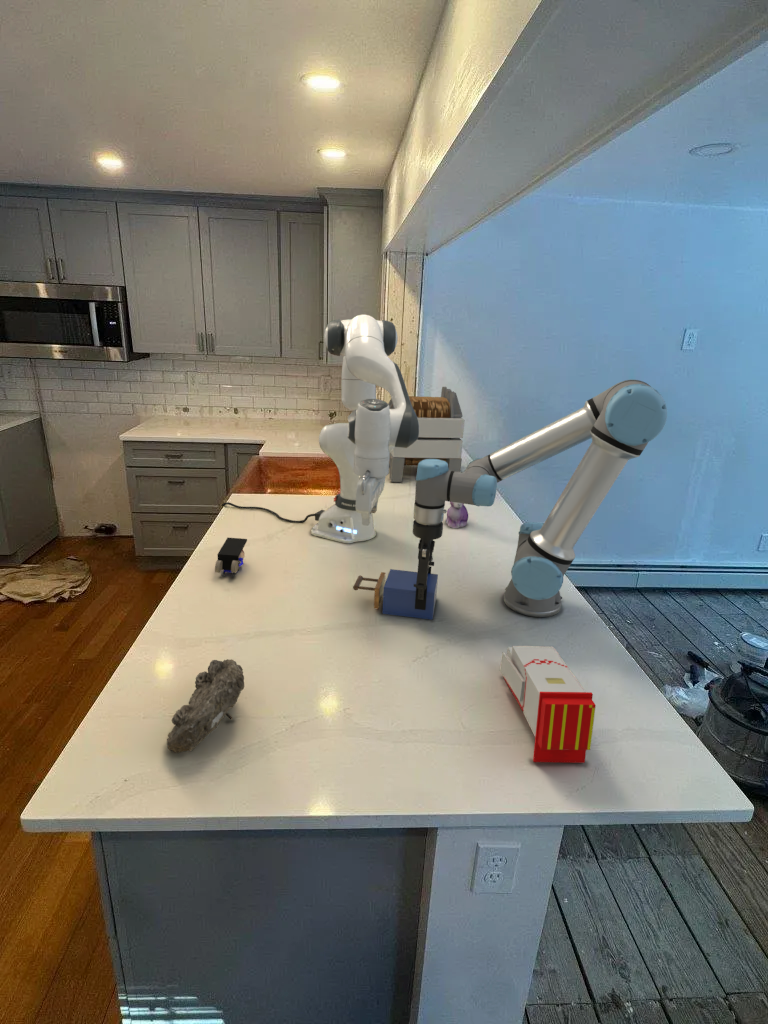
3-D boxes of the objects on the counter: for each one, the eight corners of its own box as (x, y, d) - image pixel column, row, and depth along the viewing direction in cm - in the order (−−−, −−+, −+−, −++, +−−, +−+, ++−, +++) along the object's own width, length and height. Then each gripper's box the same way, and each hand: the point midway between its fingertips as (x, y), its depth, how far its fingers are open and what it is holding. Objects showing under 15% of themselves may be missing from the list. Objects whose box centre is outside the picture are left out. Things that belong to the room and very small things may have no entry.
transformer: (382, 463, 289) (386, 382, 275) (445, 464, 293) (451, 384, 279) (390, 482, 257) (394, 392, 243) (460, 483, 261) (468, 394, 247)
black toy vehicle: (238, 584, 162) (249, 557, 175) (236, 562, 158) (247, 536, 172) (215, 584, 161) (227, 556, 175) (212, 561, 158) (225, 535, 171)
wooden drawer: (351, 605, 149) (351, 585, 147) (358, 588, 158) (359, 569, 156) (419, 614, 146) (420, 593, 144) (423, 596, 155) (424, 576, 153)
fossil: (192, 660, 117) (244, 628, 112) (224, 691, 120) (276, 661, 115) (142, 746, 98) (202, 712, 93) (182, 779, 101) (242, 748, 96)
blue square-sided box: (382, 613, 147) (383, 587, 145) (389, 594, 158) (390, 569, 155) (432, 619, 145) (434, 593, 143) (436, 599, 156) (438, 574, 153)
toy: (549, 628, 125) (605, 700, 96) (544, 683, 128) (596, 770, 99) (495, 627, 125) (534, 699, 95) (491, 683, 128) (527, 769, 98)
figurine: (453, 530, 205) (457, 490, 200) (438, 521, 213) (441, 482, 208) (475, 527, 209) (479, 488, 204) (459, 517, 217) (462, 480, 212)
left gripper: (376, 478, 131) (374, 534, 136) (390, 457, 150) (387, 507, 155) (349, 476, 132) (348, 531, 137) (366, 455, 151) (365, 504, 156)
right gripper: (439, 539, 131) (432, 622, 139) (446, 507, 153) (440, 580, 160) (407, 536, 132) (402, 618, 140) (418, 504, 154) (413, 577, 161)
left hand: (369, 518), depth 146 cm, fingers open, 8 cm apart
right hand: (422, 598), depth 150 cm, fingers closed on blue square-sided box, 11 cm apart
